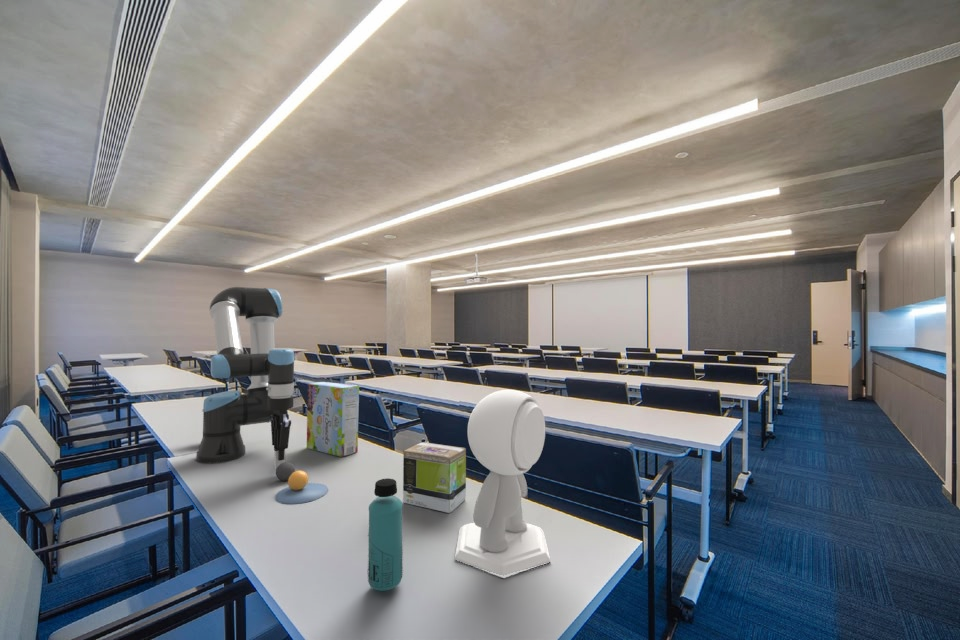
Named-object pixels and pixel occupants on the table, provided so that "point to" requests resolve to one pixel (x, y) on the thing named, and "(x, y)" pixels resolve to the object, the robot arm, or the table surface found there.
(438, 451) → the tea box
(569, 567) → the table surface
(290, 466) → the dark gray ball
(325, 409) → the snack box
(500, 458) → the white cartoon figure
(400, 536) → the beverage bottle
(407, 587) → the table surface
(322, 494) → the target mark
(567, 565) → the table surface
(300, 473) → the object ball
